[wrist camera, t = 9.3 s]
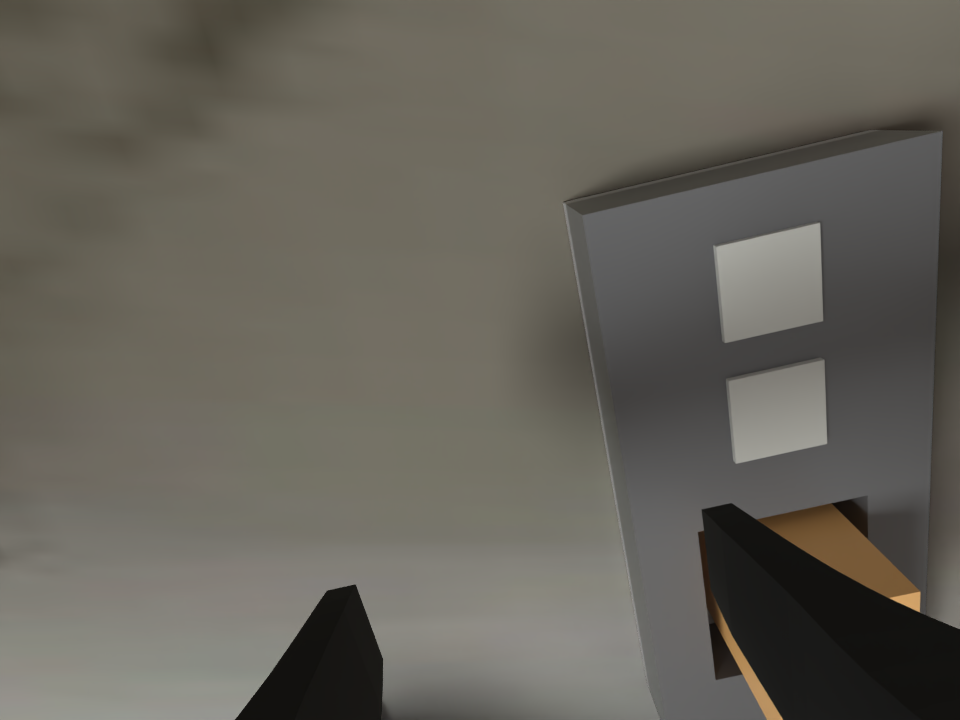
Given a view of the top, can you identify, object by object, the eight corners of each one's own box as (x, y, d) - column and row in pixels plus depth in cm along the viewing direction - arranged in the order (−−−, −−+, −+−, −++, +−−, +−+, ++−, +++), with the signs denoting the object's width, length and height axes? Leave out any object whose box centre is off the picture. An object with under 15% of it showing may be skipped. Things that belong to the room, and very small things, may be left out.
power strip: (646, 679, 26) (671, 749, 23) (562, 202, 19) (583, 216, 16) (871, 632, 26) (927, 698, 23) (870, 129, 19) (948, 130, 16)
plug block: (706, 606, 25) (782, 749, 19) (694, 499, 23) (774, 621, 17) (808, 585, 25) (915, 722, 19) (803, 476, 23) (920, 591, 17)
